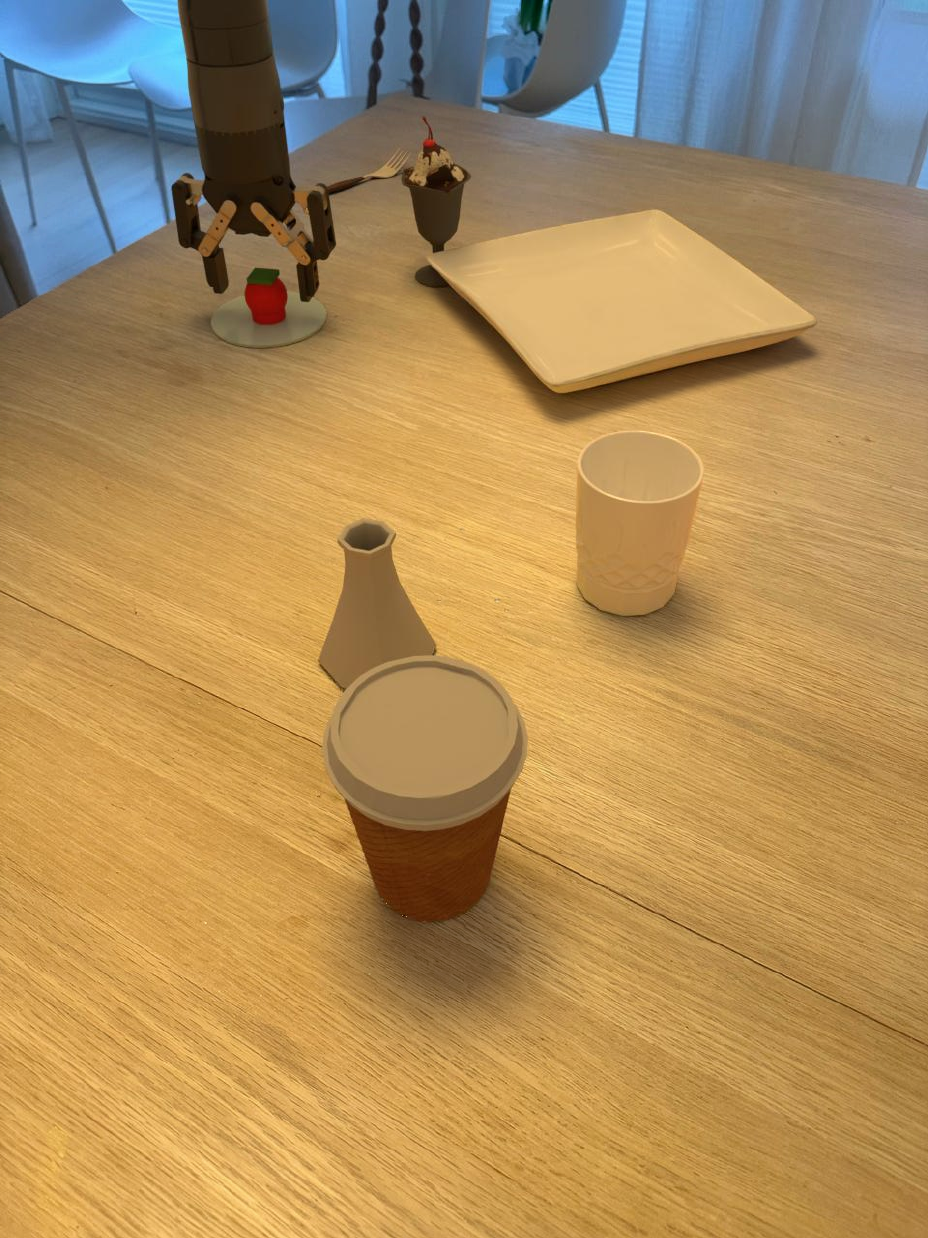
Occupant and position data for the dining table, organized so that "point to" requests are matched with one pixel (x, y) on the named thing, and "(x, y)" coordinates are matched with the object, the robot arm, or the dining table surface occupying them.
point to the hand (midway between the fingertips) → (264, 294)
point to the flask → (371, 608)
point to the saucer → (243, 331)
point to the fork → (381, 173)
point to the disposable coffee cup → (426, 778)
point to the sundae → (435, 200)
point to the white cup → (634, 518)
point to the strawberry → (266, 296)
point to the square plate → (617, 298)
